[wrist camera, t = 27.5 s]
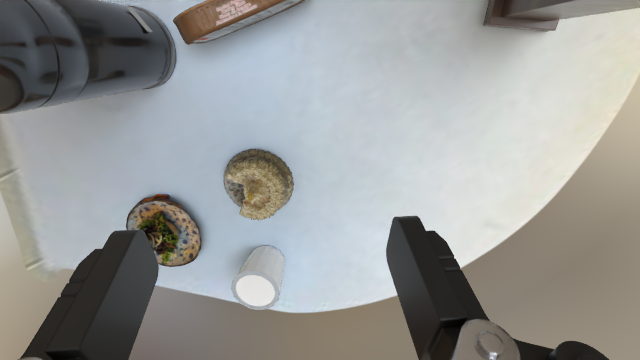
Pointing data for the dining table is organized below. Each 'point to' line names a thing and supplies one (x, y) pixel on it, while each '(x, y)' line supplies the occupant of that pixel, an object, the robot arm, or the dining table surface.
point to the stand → (548, 11)
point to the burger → (166, 230)
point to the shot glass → (260, 278)
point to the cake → (258, 183)
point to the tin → (225, 17)
